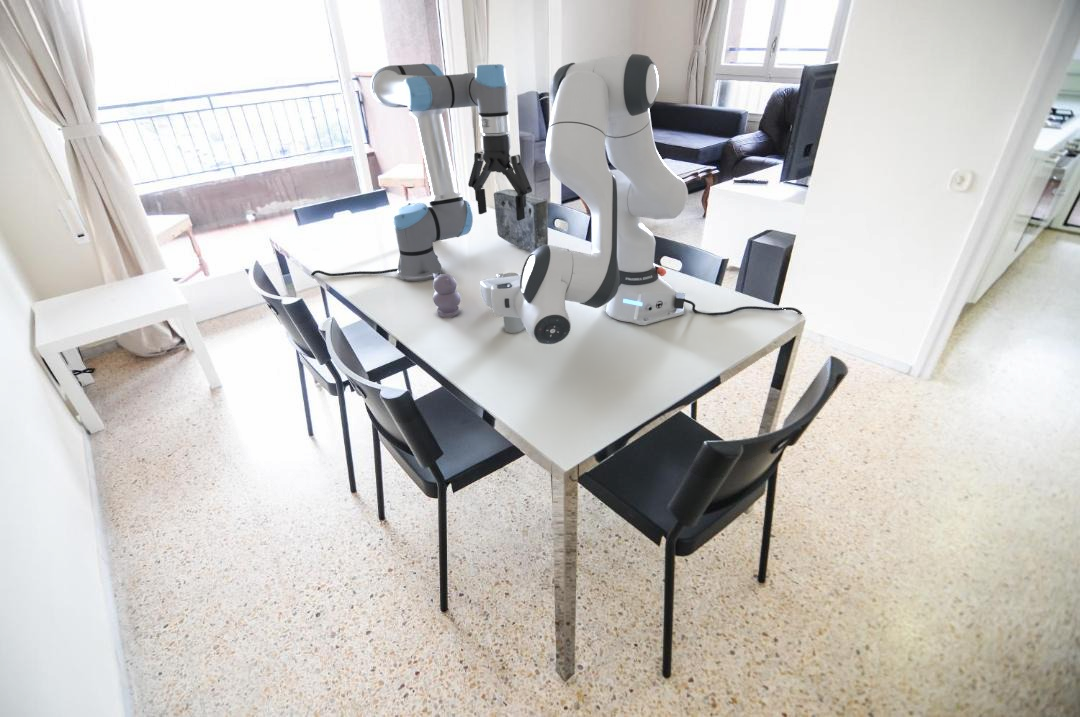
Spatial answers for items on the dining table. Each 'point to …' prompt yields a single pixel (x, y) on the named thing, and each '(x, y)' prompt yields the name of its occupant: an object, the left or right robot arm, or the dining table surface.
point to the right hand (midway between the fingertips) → (519, 274)
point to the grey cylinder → (512, 322)
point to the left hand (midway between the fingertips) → (501, 216)
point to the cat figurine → (446, 295)
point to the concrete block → (527, 230)
